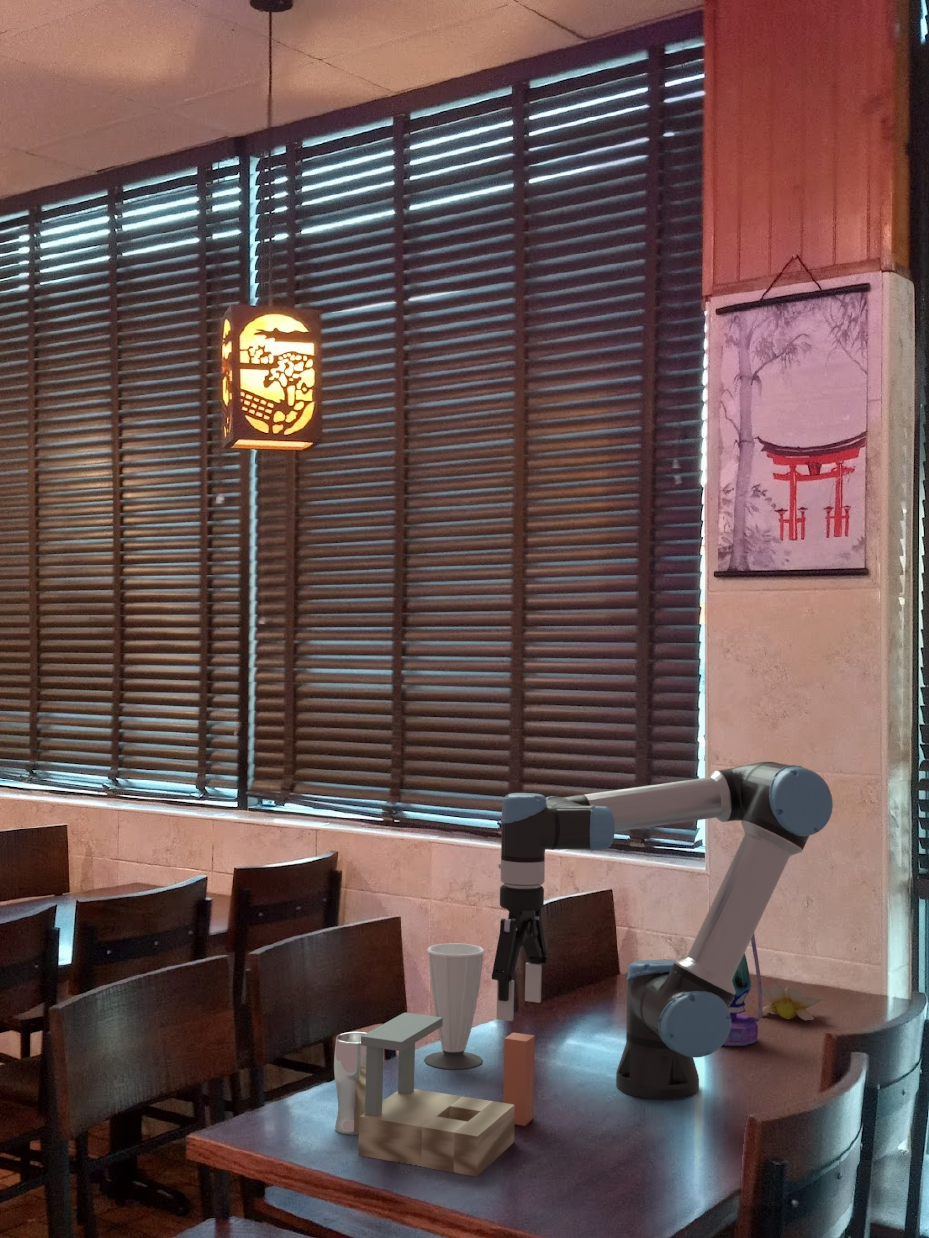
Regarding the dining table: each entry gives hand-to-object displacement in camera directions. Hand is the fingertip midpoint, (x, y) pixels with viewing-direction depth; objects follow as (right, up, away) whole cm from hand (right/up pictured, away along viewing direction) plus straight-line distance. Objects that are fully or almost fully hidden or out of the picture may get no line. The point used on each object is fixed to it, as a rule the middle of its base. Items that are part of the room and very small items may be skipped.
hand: (519, 1010), depth 224 cm
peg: (0, -18, -1) cm, 18 cm away
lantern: (+46, -22, +50) cm, 71 cm away
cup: (-12, -20, +32) cm, 39 cm away
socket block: (-14, -18, -15) cm, 27 cm away
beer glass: (-28, -18, -7) cm, 33 cm away
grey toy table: (-19, -12, -12) cm, 26 cm away
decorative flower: (+64, -23, +70) cm, 97 cm away
